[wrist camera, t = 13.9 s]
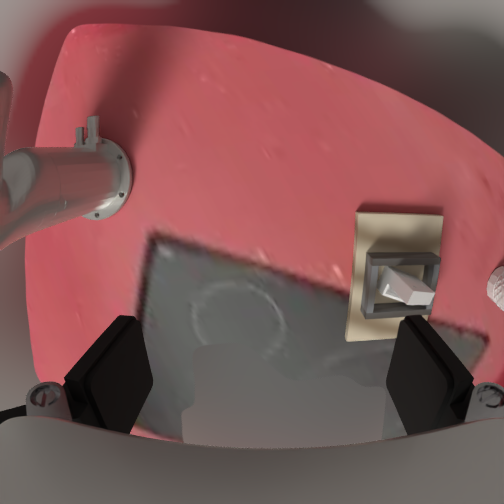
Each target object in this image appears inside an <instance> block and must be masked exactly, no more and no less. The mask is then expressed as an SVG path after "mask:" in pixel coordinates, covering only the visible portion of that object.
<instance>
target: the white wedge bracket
mask: <svg viewBox="0 0 504 504" xmlns="http://www.w3.org/2000/svg"><path fill="white" fill-rule="evenodd" d="M376 288H377V289H378V290H379V292H380V293H381V294H382V295H383V296H386V297H389V298H392V299H395V300H398V301H401V302H404V303H406V305H430V303H431V301H432V299H433V297H434V295H435V292H434V291H432V290H431V289H430V288H429V287H428V286H427V285H426V284H425V283H423V282H422V281H421V280H420V279H419V278H418V277H416V276H415V275H412V274H410V273H407V272H405V271H402V270H400V269H397V268H394V267H392V266H384V269H383V271H382V273H381V275H380V278H379V280H378V282H377V287H376Z"/></svg>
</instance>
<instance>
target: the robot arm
mask: <svg viewBox="0 0 504 504" xmlns="http://www.w3.org/2000/svg"><path fill="white" fill-rule="evenodd" d="M12 98H13V86H12V82H11V80H10V78H9V77H8V76H7V75H6V74H5V73H3V72H1V71H0V251H1V250H2V249H3V248H5V247H6V246H7V245H9V244H11V243H12V242H14V241H16V240H18V239H20V238H22V237H25V236H27V235H29V234H32V233H34V232H37V231H40V230H43V229H45V228H48V227H51V226H54V225H56V224H59V223H62V222H65V221H68V220H71V219H74V218H76V217H79V216H83V217H84V218H87V219H90V220H102V219H105V218H108V217H110V216H112V215H114V214H115V213H117V212H118V211H119V210H120V209H121V208H122V207H123V206H124V204H125V202H126V201H127V199H128V197H129V194H130V191H131V186H132V169H131V164H130V161H129V158H128V157H127V155H126V153H125V151H124V150H123V149H122V148H121V147H120V146H119V145H118V144H117V143H115V142H113V141H111V140H109V139H104V138H101V137H99V121H100V117H99V116H90V117H87V129H88V138H86V139H85V141H84V127H78V128H76V143H75V144H74V147H31V148H21V149H18V150H15V151H13V152H11V153H9V154H7V155H6V156H4V151H5V143H6V135H7V129H8V123H9V115H10V110H11V104H12ZM121 156H122V159H121ZM123 193H124V195H123ZM64 379H65V383H64V385H63V386H62V385H60V384H59V383H56V382H43V383H40V384H37V385H36V386H34V387H33V388H31V390H29V392H28V393H27V395H26V405H23V406H19V407H16V408H12V409H8V410H4V411H1V412H0V504H504V388H503V387H502V386H500V385H498V384H495V383H491V382H484V383H480V384H478V385H477V386H474V385H473V383H472V382H473V379H474V378H473V376H472V375H471V374H470V372H469V371H468V370H467V369H466V367H465V366H464V365H463V364H462V362H461V361H460V360H459V359H458V358H457V356H456V355H455V354H454V353H453V351H452V350H451V349H450V348H449V347H448V345H447V344H446V343H445V342H444V341H443V340H442V338H441V337H440V336H439V335H438V334H437V332H436V331H435V330H434V329H433V328H432V327H431V326H430V324H429V323H428V322H427V321H426V320H425V319H424V318H423V316H422V315H408V316H405V318H404V320H401V321H400V324H399V328H398V333H397V338H396V342H395V346H394V351H393V355H392V359H391V363H390V367H389V371H388V375H387V379H386V385H387V389H388V391H389V393H390V395H391V398H392V400H393V402H394V404H395V407H396V409H397V411H398V414H399V416H400V418H401V421H402V423H403V425H404V428H405V430H406V432H407V436H402V437H396V438H390V439H384V440H378V441H372V442H365V443H356V444H347V445H337V446H326V447H325V446H324V447H310V448H309V447H308V448H278V449H277V448H272V449H271V448H235V447H219V446H207V445H195V444H187V443H179V442H172V441H165V440H158V439H152V438H146V437H141V436H136V435H130V432H131V429H132V427H133V425H134V423H135V421H136V419H137V417H138V415H139V413H140V411H141V409H142V407H143V405H144V403H145V401H146V398H147V396H148V394H149V392H150V390H151V388H152V386H153V377H152V373H151V369H150V364H149V360H148V356H147V351H146V347H145V342H144V337H143V333H142V328H141V323H140V321H139V320H136V318H135V317H134V316H125V315H119V316H118V317H117V318H116V319H115V320H114V321H113V322H112V324H111V325H110V326H109V327H108V328H107V329H106V330H105V331H104V332H103V333H102V335H101V336H100V337H99V338H98V339H97V340H96V341H95V342H94V344H93V345H92V346H91V347H90V348H89V349H88V350H87V352H86V353H85V354H84V355H83V356H82V357H81V358H80V360H79V361H78V362H77V363H76V364H75V365H74V366H73V368H72V369H71V370H70V371H69V372H68V374H67V375H66V376H65V377H64Z"/></svg>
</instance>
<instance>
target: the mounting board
mask: <svg viewBox="0 0 504 504" xmlns="http://www.w3.org/2000/svg"><path fill="white" fill-rule="evenodd" d="M442 225H443V216H441V215H436V214H413V213H386V212H356V215H355V236H354V252H353V265H352V277H351V288H350V298H349V307H348V316H347V324H346V332H345V338H346V341H364V340H377V339H389V338H397V333H398V328H399V324H400V321H401V320H404V318H405V316H408V315H422V316H423V318H424V319H425V320H426V321H427V319H428V315H431V310H432V306H433V301H434V297H433V299H432V301H431V303H430V305H406V303H404V302H401V301H398V300H395V299H392V298H389V297H386V296H383V295H382V294H381V293H380V292H379V290H378V289H377V288H376V287H377V282H378V280H379V278H380V275H381V273H382V271H383V269H384V266H392V267H394V268H397V269H400V270H402V271H405V272H407V273H410V274H412V275H415V276H416V277H418V278H419V279H420V280H421V281H422V282H423V283H425V284H426V285H427V286H428V287H429V288H430V289H431V290H432V291H434V292H435V291H436V285H437V280H438V274H439V267H440V261H441V258H440V257H439V251H440V244H441V235H442ZM434 296H435V295H434Z"/></svg>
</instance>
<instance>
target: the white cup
mask: <svg viewBox="0 0 504 504" xmlns="http://www.w3.org/2000/svg"><path fill="white" fill-rule="evenodd" d="M487 294H488V296H489V298H490V299H491V300H492V301H493V302H495V303H496V305H497V306H498V307H500V308H501V309H502V310H503V311H504V266H501V267H499V268H496V270H495V271H494V272H493V273H492V274H491V276H490V278H489V280H488V284H487Z"/></svg>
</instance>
